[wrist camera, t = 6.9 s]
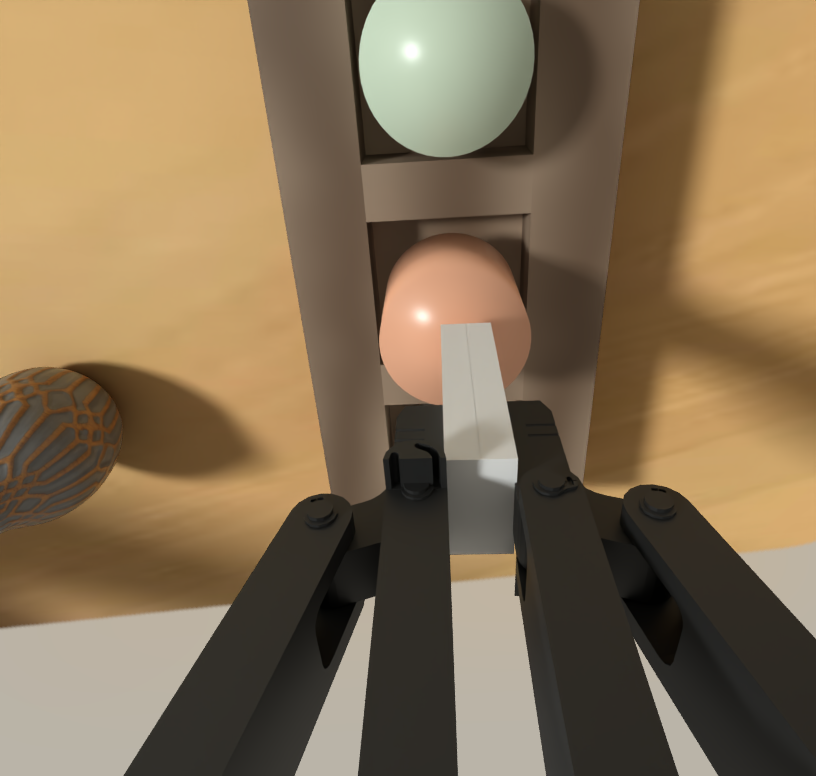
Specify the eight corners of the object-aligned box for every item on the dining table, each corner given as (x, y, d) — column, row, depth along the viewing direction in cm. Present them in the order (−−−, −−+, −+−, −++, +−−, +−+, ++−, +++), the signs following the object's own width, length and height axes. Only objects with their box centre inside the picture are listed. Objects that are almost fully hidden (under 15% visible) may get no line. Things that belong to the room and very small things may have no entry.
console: (346, 469, 33) (336, 524, 29) (268, -60, 21) (233, -81, 17) (560, 462, 33) (578, 517, 29) (610, -89, 20) (653, -117, 16)
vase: (161, 391, 31) (76, 506, 23) (115, 474, 34) (27, 599, 26) (30, 321, 29) (-108, 422, 21) (-6, 416, 32) (-139, 533, 24)
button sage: (376, 142, 22) (367, 162, 18) (363, -24, 19) (349, -36, 16) (513, 133, 21) (530, 152, 18) (518, -36, 19) (538, -51, 15)
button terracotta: (391, 356, 24) (385, 409, 21) (380, 236, 22) (372, 274, 18) (513, 350, 24) (528, 404, 20) (517, 228, 21) (534, 266, 18)
